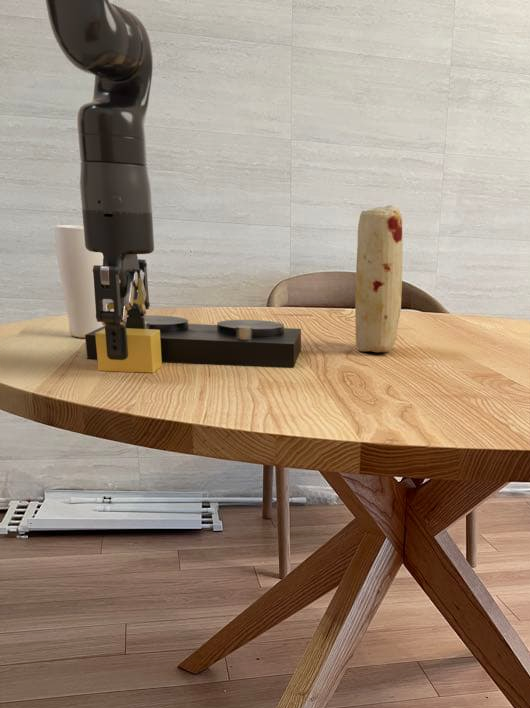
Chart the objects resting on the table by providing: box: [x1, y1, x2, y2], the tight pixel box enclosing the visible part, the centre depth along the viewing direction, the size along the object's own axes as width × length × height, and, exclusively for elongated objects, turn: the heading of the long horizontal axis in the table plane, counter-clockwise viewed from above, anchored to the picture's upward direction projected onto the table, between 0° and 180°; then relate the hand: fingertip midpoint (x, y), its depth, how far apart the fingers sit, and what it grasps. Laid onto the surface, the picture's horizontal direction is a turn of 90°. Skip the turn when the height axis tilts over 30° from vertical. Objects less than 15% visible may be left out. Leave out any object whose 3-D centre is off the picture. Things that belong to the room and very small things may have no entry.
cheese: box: [95, 328, 163, 374], centre depth 99 cm, size 6×5×4 cm
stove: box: [84, 314, 302, 369], centre depth 111 cm, size 26×14×5 cm, turn 93°
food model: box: [354, 204, 404, 353], centre depth 118 cm, size 10×7×20 cm
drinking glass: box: [54, 224, 105, 339], centre depth 118 cm, size 7×7×15 cm
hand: (127, 353), depth 99 cm, fingers open, 8 cm apart
